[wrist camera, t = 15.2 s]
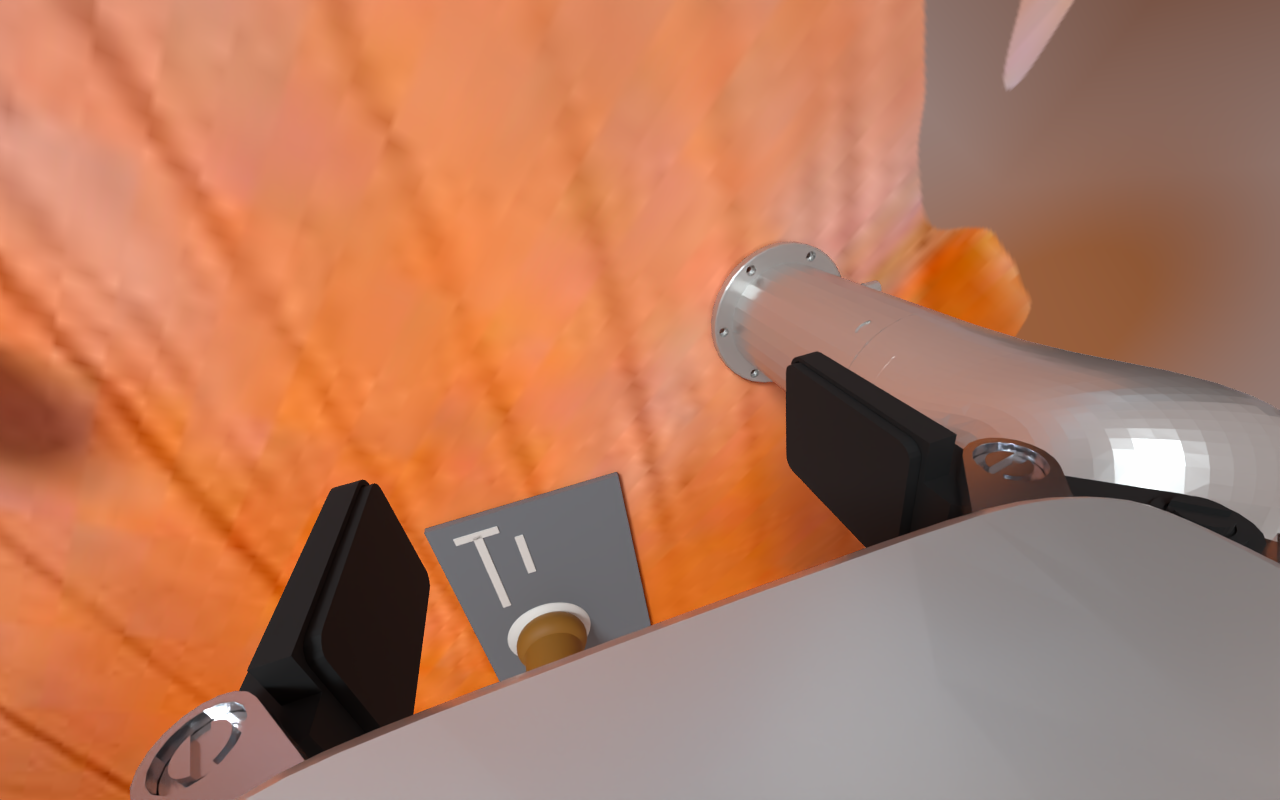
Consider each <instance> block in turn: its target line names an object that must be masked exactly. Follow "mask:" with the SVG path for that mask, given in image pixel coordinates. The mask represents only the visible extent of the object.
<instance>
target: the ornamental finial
mask: <svg viewBox="0 0 1280 800" xmlns="http://www.w3.org/2000/svg"><path fill="white" fill-rule="evenodd" d="M586 643H587V631H586V628H585V626H584V624H583V622H582V621H581V620H580V619H579V618H578V617H576V616H575V615H573V614H570V613H567V612H549V613H546V614H543V615H540V616H538V617H536V618H534V619H533V620H531V621H530V622H529V623H528V624H527V625H526V626H525V627H524V628H523V630H522V631H521V633H520V635H519V637H518V640H517V654H518V657H519V659H520V661H521V662H522V663H523V665H524V666H526V672H527V671H530V670H533V669H535V668H538V667H541V666H543V665H546V664H549V663H551V662H554V661H557V660H559V659H562V658H565V657H568V656H570V655H573V654H576V653H578V652H581V651H584V649H585V646H586Z"/></svg>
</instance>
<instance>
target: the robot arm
mask: <svg viewBox="0 0 1280 800" xmlns="http://www.w3.org/2000/svg"><path fill="white" fill-rule="evenodd" d="M748 267H749V268H748ZM747 268H748V270H747ZM721 329H722V330H721ZM720 330H721V331H720ZM711 331H712V338H713V343H714V347H715V349H716V351H717V353H718V355H719V357H720V358H721V359H722V361H723V362H724V363H725V365H726V366H727V367H729V368H730V369H731V370H732V371H733V372H734V373H736V374H737V375H739V376H741V377H742V378H745V379H747V380H750V381H755V382H764V383H765V382H774V383H776V384H777V385H778V386H779V387H781V388H782V389H783V390H784V391H786V455H787V461H788V464H789V466H790V468H791V469H792V471H793V472H794V473H795V474H796V475H797V476H798V477H799V478H800V479H801V480H802V481H803V482H804V483H805V484H806V485H807V486H808V487H809V489H810V490H811V491H812V492H813V493H814V494H815V495H816V496H817V497H818V498H819V499H820V500H821V501H822V502H823V503H824V504H825V505H826V506H827V507H828V508H829V509H830V510H831V511H832V513H833V514H834V515H835V516H836V517H837V518H838V519H839V520H840V521H841V522H842V523H843V524H844V525H845V526H846V527H847V528H848V529H849V530H850V531H851V532H852V533H853V534H854V536H855V537H856V538H857V539H858V540H859V541H860V542H861V543H862V544H863V545H864V546H865V547H866V548H865V549H862V550H859V551H856V552H853V553H851V554H848V555H845V556H842V557H839V558H837V559H834V560H831V561H828V562H826V563H823V564H820V565H817V566H814V567H812V568H809V569H806V570H803V571H800V572H798V573H795V574H792V575H789V576H786V577H784V578H781V579H778V580H775V581H773V582H770V583H767V584H764V585H761V586H759V587H756V588H753V589H750V590H748V591H745V592H742V593H739V594H737V595H734V596H731V597H728V598H726V599H723V600H720V601H717V602H715V603H712V604H709V605H706V606H704V607H701V608H698V609H695V610H693V611H690V612H687V613H684V614H682V615H679V616H676V617H674V618H671V619H668V620H665V621H663V622H660V623H657V624H654V625H652V626H649V627H646V628H643V629H641V630H638V631H635V632H633V633H630V634H627V635H624V636H622V637H619V638H616V639H613V640H611V641H608V642H605V643H603V644H600V645H597V646H595V647H592V648H589V649H586V650H584V651H581V652H578V653H576V654H573V655H570V656H568V657H565V658H562V659H559V660H557V661H554V662H551V663H549V664H546V665H543V666H541V667H538V668H535V669H533V670H530V671H527V672H524V673H522V674H519V675H516V676H514V677H511V678H508V679H506V680H503V681H500V682H498V683H495V684H492V685H489V686H487V687H484V688H481V689H479V690H476V691H473V692H471V693H468V694H465V695H463V696H460V697H458V698H455V699H453V700H450V701H447V702H445V703H442V704H440V705H437V706H435V707H432V708H429V709H427V710H424V711H422V712H419V713H417V714H414V715H413V712H414V705H415V697H416V689H417V682H418V674H419V667H420V659H421V651H422V644H423V636H424V628H425V621H426V613H427V606H428V598H429V590H430V583H429V577H428V574H427V571H426V569H425V568H424V566H423V564H422V562H421V560H420V559H419V557H418V555H417V553H416V551H415V550H414V548H413V546H412V544H411V542H410V540H409V539H408V537H407V535H406V533H405V531H404V530H403V528H402V526H401V524H400V522H399V521H398V519H397V517H396V515H395V513H394V511H393V510H392V508H391V506H390V504H389V502H388V501H387V499H386V497H385V495H384V493H383V492H382V490H381V488H380V487H379V486H378V485H377V484H375V483H374V484H371V485H369V483H368V482H366V481H365V480H360V481H356V482H352V483H349V484H345V485H342V486H338V487H335V488H332V489H331V491H330V492H329V494H328V497H327V499H326V501H325V503H324V505H323V507H322V510H321V512H320V514H319V516H318V518H317V520H316V523H315V525H314V527H313V529H312V531H311V533H310V536H309V538H308V540H307V542H306V544H305V546H304V549H303V551H302V553H301V555H300V557H299V559H298V562H297V564H296V566H295V568H294V570H293V572H292V574H291V577H290V579H289V581H288V583H287V585H286V587H285V590H284V592H283V594H282V596H281V598H280V600H279V603H278V605H277V607H276V609H275V611H274V613H273V616H272V618H271V620H270V622H269V624H268V626H267V629H266V631H265V633H264V635H263V637H262V639H261V642H260V644H259V646H258V648H257V650H256V652H255V655H254V657H253V659H252V661H251V663H250V665H249V667H248V670H247V671H248V673H247V675H246V677H245V679H244V681H243V684H242V686H241V688H240V690H239V691H234V692H230V693H226V694H223V695H219V696H217V697H215V698H213V699H211V700H209V701H207V702H205V703H203V704H201V705H200V706H198V707H197V708H195V709H194V710H192V711H191V712H189V713H188V714H186V715H185V716H184V717H182V718H181V719H180V720H179V721H178V722H177V723H175V724H174V725H173V726H172V727H171V728H170V729H169V730H168V731H166V732H165V733H164V734H163V735H162V737H161V738H160V739H159V740H158V741H157V742H156V743H155V745H154V746H153V747H152V748H151V749H150V750H149V751H148V753H147V754H146V756H145V758H144V759H143V761H142V762H141V764H140V765H139V767H138V769H137V770H136V773H135V775H134V778H133V781H132V784H131V787H130V798H131V800H1280V410H1279V409H1277V408H1276V407H1274V406H1272V405H1271V404H1268V403H1266V402H1264V401H1262V400H1260V399H1258V398H1256V397H1253V396H1251V395H1249V394H1246V393H1243V392H1240V391H1237V390H1235V389H1232V388H1229V387H1226V386H1224V385H1221V384H1218V383H1214V382H1210V381H1207V380H1203V379H1199V378H1195V377H1191V376H1187V375H1183V374H1179V373H1175V372H1171V371H1166V370H1162V369H1156V368H1151V367H1146V366H1141V365H1136V364H1131V363H1126V362H1121V361H1116V360H1110V359H1105V358H1100V357H1095V356H1090V355H1085V354H1080V353H1075V352H1070V351H1066V350H1062V349H1058V348H1053V347H1049V346H1045V345H1041V344H1037V343H1033V342H1029V341H1025V340H1022V339H1018V338H1015V337H1012V336H1009V335H1006V334H1003V333H999V332H996V331H993V330H990V329H987V328H983V327H980V326H977V325H974V324H971V323H968V322H965V321H962V320H960V319H957V318H954V317H951V316H948V315H945V314H942V313H940V312H937V311H934V310H931V309H928V308H926V307H923V306H920V305H917V304H914V303H912V302H909V301H906V300H903V299H900V298H897V297H895V296H892V295H889V294H886V293H883V292H881V285H880V283H879V282H878V281H870V282H866V283H862V284H858V283H855V282H852V281H850V280H847V279H844V278H841V275H840V273H839V271H838V269H837V267H836V265H835V263H834V262H833V261H832V260H831V259H830V258H829V257H828V255H826V254H825V253H824V252H822V251H821V250H819V249H818V248H815V247H812V246H810V245H807V244H803V243H798V242H779V243H775V244H771V245H768V246H765V247H763V248H761V249H759V250H756V251H755V252H753V253H752V254H751V255H749V256H748V257H746V258H745V259H744V260H742V261H741V262H740V263H739V264H738V265H737V266H736V267H735V268H734V269H733V271H732V272H731V273H730V275H729V276H728V277H727V279H726V280H725V281H724V283H723V285H722V287H721V289H720V291H719V293H718V295H717V298H716V301H715V304H714V307H713V313H712V319H711Z"/></svg>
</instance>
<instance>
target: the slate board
mask: <svg viewBox="0 0 1280 800" xmlns="http://www.w3.org/2000/svg"><path fill="white" fill-rule="evenodd" d="M424 534H425V536H426V537H427V539H428V541H429V543H430V545H431V547H432V549H433V551H434V553H435V555H436V557H437V559H438V561H439V563H440V565H441V567H442V569H443V571H444V573H445V575H446V577H447V579H448V581H449V583H450V585H451V587H452V588H453V590H454V592H455V594H456V596H457V598H458V600H459V602H460V604H461V606H462V608H463V610H464V612H465V614H466V616H467V618H468V620H469V622H470V624H471V626H472V628H473V630H474V632H475V634H476V636H477V638H478V639H479V641H480V643H481V645H482V647H483V649H484V651H485V653H486V655H487V657H488V659H489V661H490V663H491V665H492V667H493V669H494V671H495V673H496V675H497V677H498V679H499V681H503V680H506V679H508V678H511V677H514V676H516V675H519V674H522V673H524V672H526V666H524V665H523V663H522V662H521V661H520V659H519V657H518V654H517V640H518V637H519V635H520V633H521V631H522V630H523V628H524V627H525V626H526V625H527V624H528V623H529V622H530V621H531V620H533V619H534V618H536V617H538V616H540V615H543V614H546V613H549V612H567V613H570V614H573V615H575V616H576V617H578V618H579V619H580V620H581V621H582V622H583V624H584V626H585V628H586V631H587V643H586V646H585V649H584V650H586V649H589V648H592V647H595V646H597V645H600V644H603V643H605V642H608V641H611V640H613V639H616V638H619V637H622V636H624V635H627V634H630V633H633V632H635V631H638V630H641V629H643V628H646V627H649V626H651V624H650V620H649V615H648V610H647V606H646V601H645V597H644V592H643V588H642V583H641V578H640V574H639V569H638V565H637V560H636V555H635V551H634V546H633V542H632V537H631V533H630V528H629V523H628V519H627V514H626V510H625V505H624V501H623V496H622V491H621V487H620V482H619V478H618V474H617V472H615V473H611V474H608V475H605V476H601V477H598V478H595V479H591V480H588V481H585V482H581V483H578V484H574V485H571V486H568V487H564V488H561V489H558V490H554V491H551V492H547V493H544V494H541V495H537V496H534V497H531V498H527V499H524V500H520V501H517V502H514V503H510V504H507V505H504V506H500V507H497V508H493V509H490V510H487V511H483V512H480V513H477V514H473V515H470V516H466V517H463V518H460V519H456V520H453V521H450V522H446V523H443V524H440V525H436V526H433V527H429V528H426V529H425V532H424Z"/></svg>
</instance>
